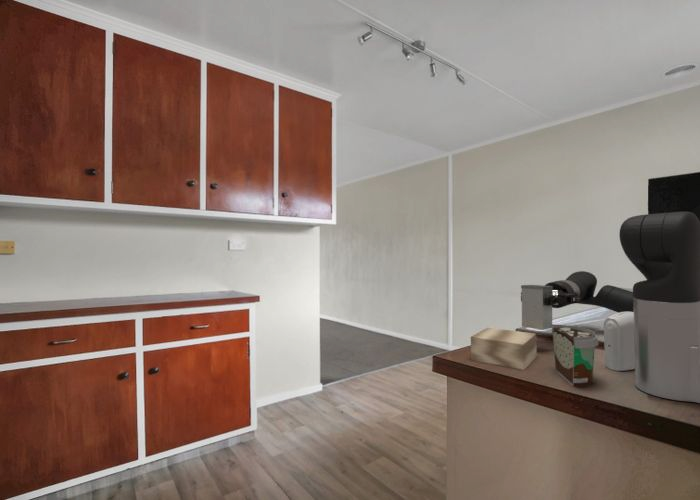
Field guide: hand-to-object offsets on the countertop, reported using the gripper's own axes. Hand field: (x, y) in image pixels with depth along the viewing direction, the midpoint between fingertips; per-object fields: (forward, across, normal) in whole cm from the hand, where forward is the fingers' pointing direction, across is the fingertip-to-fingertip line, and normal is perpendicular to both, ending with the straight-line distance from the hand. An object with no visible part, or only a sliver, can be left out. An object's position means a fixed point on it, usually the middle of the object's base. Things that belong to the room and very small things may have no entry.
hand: (534, 300), depth 91 cm
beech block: (+12, +2, -13) cm, 18 cm away
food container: (+13, -14, -13) cm, 24 cm away
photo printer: (-2, -19, -14) cm, 23 cm away
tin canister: (-1, 0, -7) cm, 7 cm away
